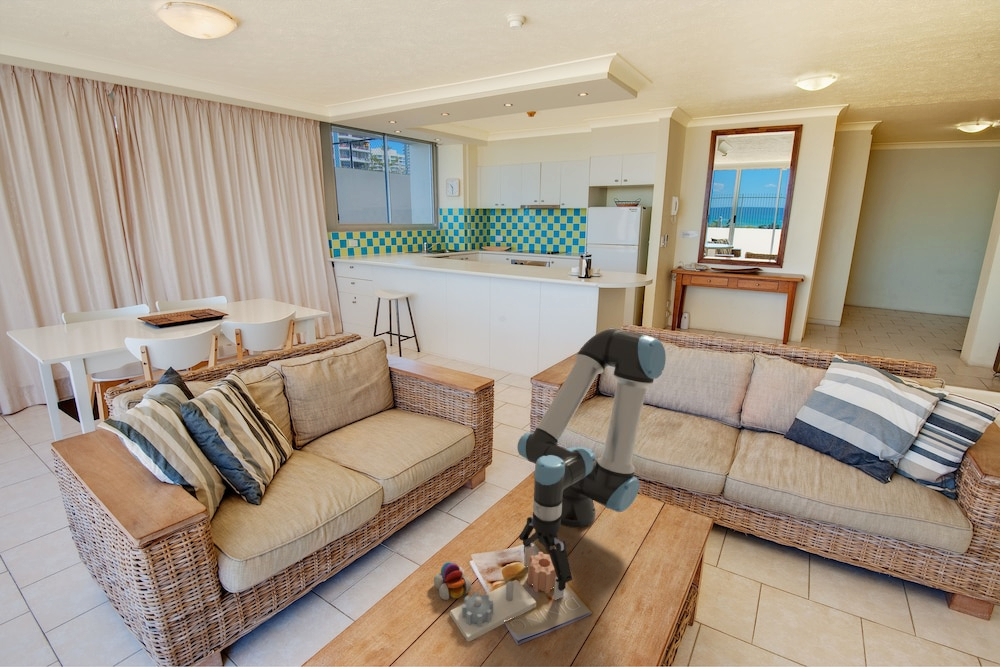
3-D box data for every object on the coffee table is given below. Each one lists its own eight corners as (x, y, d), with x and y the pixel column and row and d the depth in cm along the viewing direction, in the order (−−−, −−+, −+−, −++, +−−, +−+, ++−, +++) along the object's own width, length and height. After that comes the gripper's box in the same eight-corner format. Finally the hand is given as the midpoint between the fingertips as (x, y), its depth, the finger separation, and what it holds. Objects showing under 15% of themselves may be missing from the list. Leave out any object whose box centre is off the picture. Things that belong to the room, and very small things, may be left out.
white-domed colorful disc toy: (443, 607, 122) (443, 584, 120) (431, 582, 130) (430, 559, 128) (474, 596, 126) (474, 573, 124) (459, 572, 134) (459, 550, 132)
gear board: (450, 615, 119) (450, 595, 118) (516, 584, 130) (516, 565, 128) (467, 642, 112) (468, 621, 111) (535, 606, 123) (536, 587, 121)
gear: (522, 577, 132) (522, 558, 131) (545, 566, 137) (546, 548, 135) (540, 597, 126) (541, 578, 124) (564, 585, 130) (566, 566, 128)
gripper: (509, 494, 134) (506, 558, 139) (566, 545, 114) (561, 618, 119) (530, 486, 138) (527, 549, 143) (590, 535, 118) (583, 606, 123)
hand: (542, 581), depth 131 cm, fingers open, 13 cm apart
